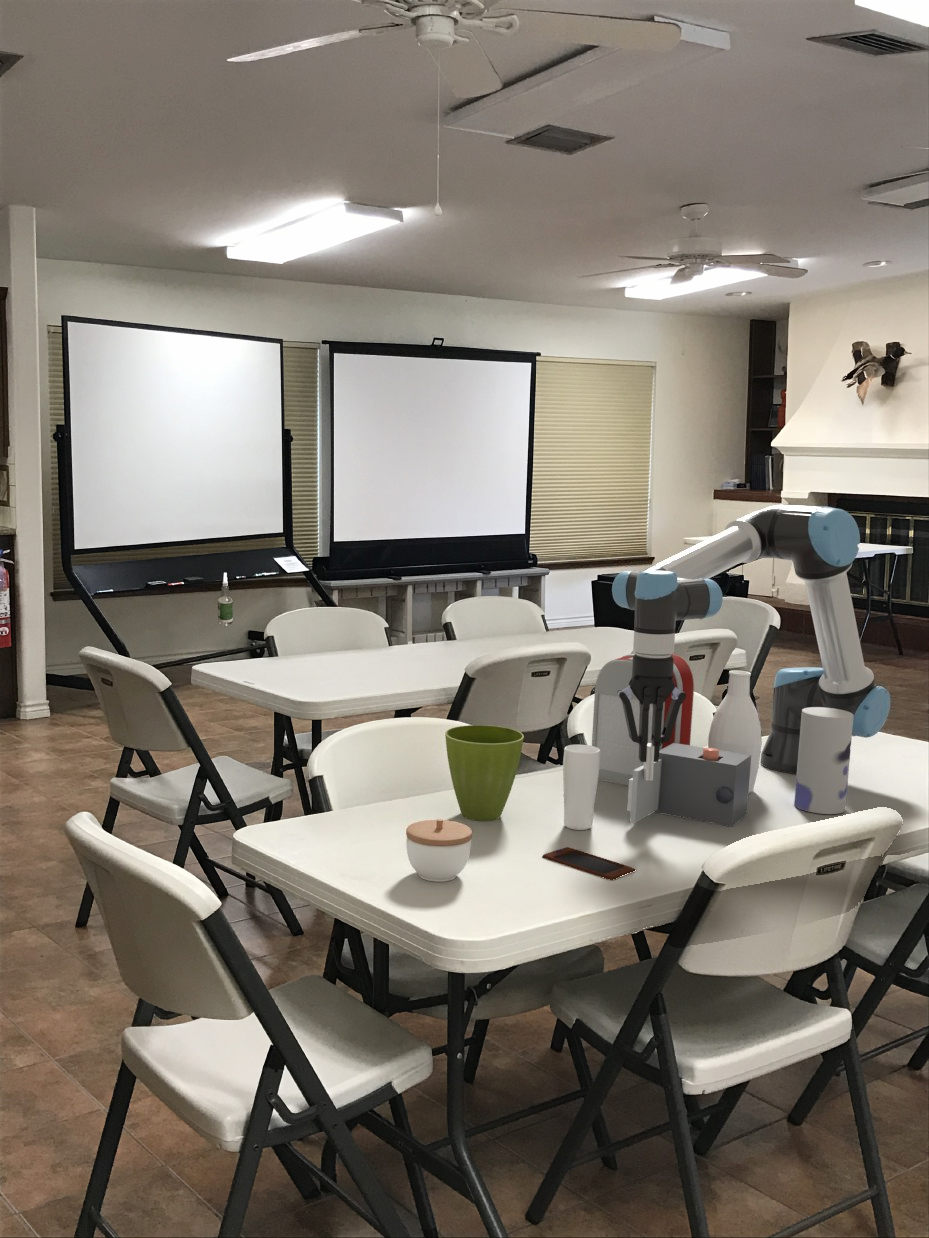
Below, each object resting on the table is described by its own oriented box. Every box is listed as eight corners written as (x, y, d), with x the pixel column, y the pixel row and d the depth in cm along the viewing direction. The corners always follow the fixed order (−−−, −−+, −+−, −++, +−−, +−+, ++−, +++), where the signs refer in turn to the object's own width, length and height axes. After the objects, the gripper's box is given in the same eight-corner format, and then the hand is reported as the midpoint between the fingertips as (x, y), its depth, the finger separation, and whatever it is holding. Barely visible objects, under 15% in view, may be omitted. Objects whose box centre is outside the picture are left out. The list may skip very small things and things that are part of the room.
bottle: (700, 792, 250) (708, 673, 247) (709, 779, 261) (718, 665, 257) (753, 799, 246) (763, 679, 243) (761, 786, 257) (770, 670, 253)
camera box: (669, 800, 243) (673, 742, 242) (746, 814, 236) (751, 755, 234) (650, 812, 234) (654, 753, 232) (730, 828, 226) (734, 766, 225)
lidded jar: (403, 863, 199) (405, 809, 198) (467, 864, 200) (469, 810, 199) (405, 886, 188) (407, 829, 187) (473, 887, 189) (475, 830, 188)
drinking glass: (599, 824, 225) (604, 746, 223) (591, 834, 219) (596, 754, 217) (564, 819, 227) (569, 742, 225) (555, 829, 221) (560, 750, 219)
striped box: (690, 774, 264) (698, 654, 261) (658, 791, 250) (666, 664, 246) (622, 761, 273) (629, 645, 270) (587, 777, 258) (594, 654, 255)
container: (847, 817, 237) (856, 718, 234) (795, 812, 239) (803, 714, 236) (842, 803, 246) (850, 708, 244) (792, 798, 248) (800, 704, 246)
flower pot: (505, 832, 218) (509, 747, 216) (430, 820, 223) (433, 737, 221) (529, 810, 232) (533, 730, 230) (458, 800, 237) (461, 721, 235)
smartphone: (566, 845, 210) (637, 867, 200) (566, 850, 210) (636, 873, 200) (541, 853, 205) (612, 877, 195) (541, 859, 205) (611, 883, 195)
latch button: (705, 759, 233) (706, 747, 233) (720, 761, 232) (721, 749, 231) (700, 762, 231) (701, 749, 230) (715, 765, 229) (716, 752, 229)
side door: (659, 808, 234) (662, 758, 232) (635, 822, 224) (638, 771, 222) (650, 806, 235) (654, 757, 233) (626, 820, 225) (629, 769, 223)
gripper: (682, 651, 224) (676, 773, 228) (615, 650, 223) (610, 773, 227) (692, 658, 217) (686, 784, 220) (623, 657, 216) (618, 783, 219)
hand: (647, 778), depth 223 cm, fingers closed
